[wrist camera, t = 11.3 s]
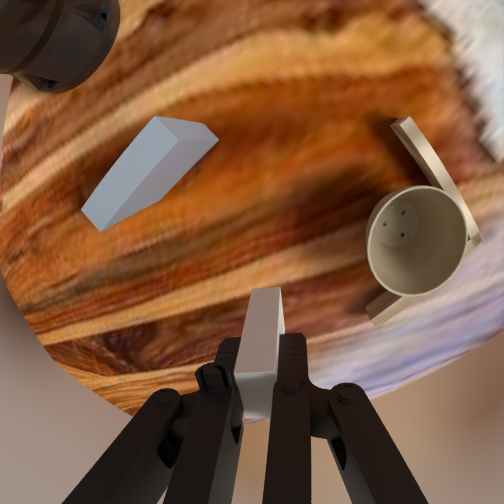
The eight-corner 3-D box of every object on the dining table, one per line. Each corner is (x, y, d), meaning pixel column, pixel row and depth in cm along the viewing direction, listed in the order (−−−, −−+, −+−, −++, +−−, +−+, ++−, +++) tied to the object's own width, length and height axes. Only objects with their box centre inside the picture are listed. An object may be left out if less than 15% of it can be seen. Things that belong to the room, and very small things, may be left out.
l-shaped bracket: (285, 213, 31) (284, 221, 29) (399, 118, 27) (409, 116, 24) (371, 314, 34) (376, 328, 31) (470, 232, 29) (483, 240, 27)
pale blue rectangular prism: (145, 184, 32) (80, 209, 21) (203, 123, 29) (154, 115, 18) (160, 200, 32) (100, 232, 21) (219, 139, 30) (178, 140, 18)
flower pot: (387, 284, 33) (406, 317, 26) (332, 219, 31) (343, 241, 24) (451, 226, 30) (483, 248, 23) (401, 155, 28) (431, 160, 21)
